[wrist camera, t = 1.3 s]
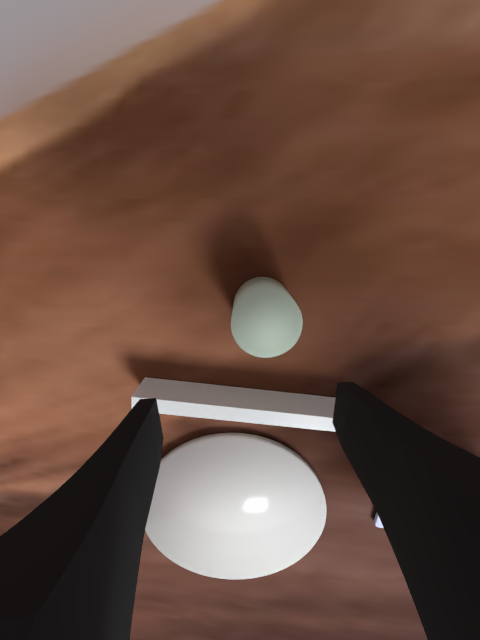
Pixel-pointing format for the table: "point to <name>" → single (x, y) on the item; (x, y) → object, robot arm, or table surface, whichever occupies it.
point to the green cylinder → (265, 318)
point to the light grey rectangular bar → (238, 404)
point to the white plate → (235, 506)
